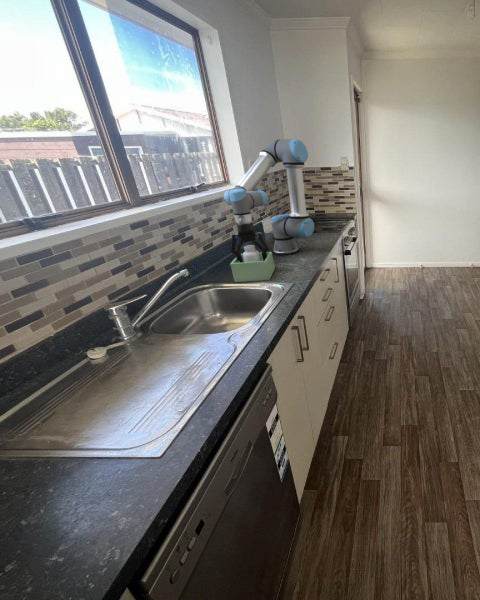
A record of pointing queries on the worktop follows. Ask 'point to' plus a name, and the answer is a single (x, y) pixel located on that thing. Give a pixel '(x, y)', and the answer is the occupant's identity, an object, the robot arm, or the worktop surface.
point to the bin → (253, 269)
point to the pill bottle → (251, 254)
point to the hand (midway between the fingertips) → (253, 265)
